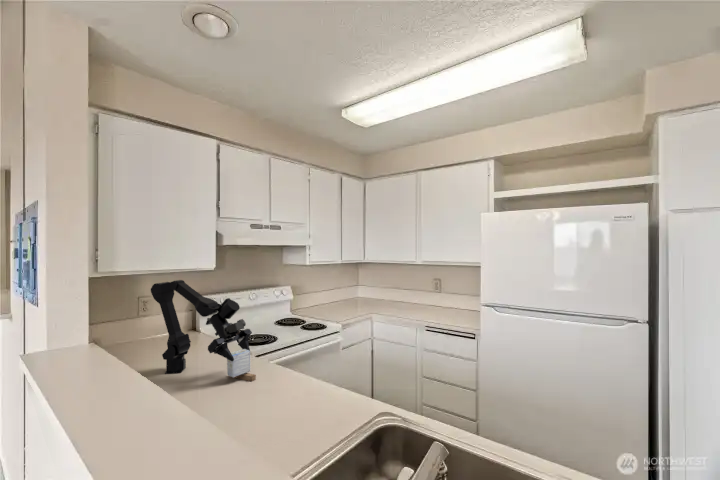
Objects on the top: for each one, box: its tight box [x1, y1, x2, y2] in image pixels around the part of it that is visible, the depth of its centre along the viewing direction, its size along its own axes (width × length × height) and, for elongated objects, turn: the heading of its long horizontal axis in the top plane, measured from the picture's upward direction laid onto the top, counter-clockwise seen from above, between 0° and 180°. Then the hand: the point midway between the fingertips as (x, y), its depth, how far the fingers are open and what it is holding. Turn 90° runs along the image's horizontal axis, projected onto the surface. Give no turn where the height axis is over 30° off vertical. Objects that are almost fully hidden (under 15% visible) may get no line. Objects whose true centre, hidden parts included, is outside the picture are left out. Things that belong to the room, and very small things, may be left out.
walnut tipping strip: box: [232, 372, 257, 382], centre depth 135 cm, size 12×2×2 cm, turn 65°
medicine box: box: [226, 348, 251, 378], centre depth 134 cm, size 8×4×9 cm, turn 141°
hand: (241, 357), depth 133 cm, fingers closed on medicine box, 8 cm apart
